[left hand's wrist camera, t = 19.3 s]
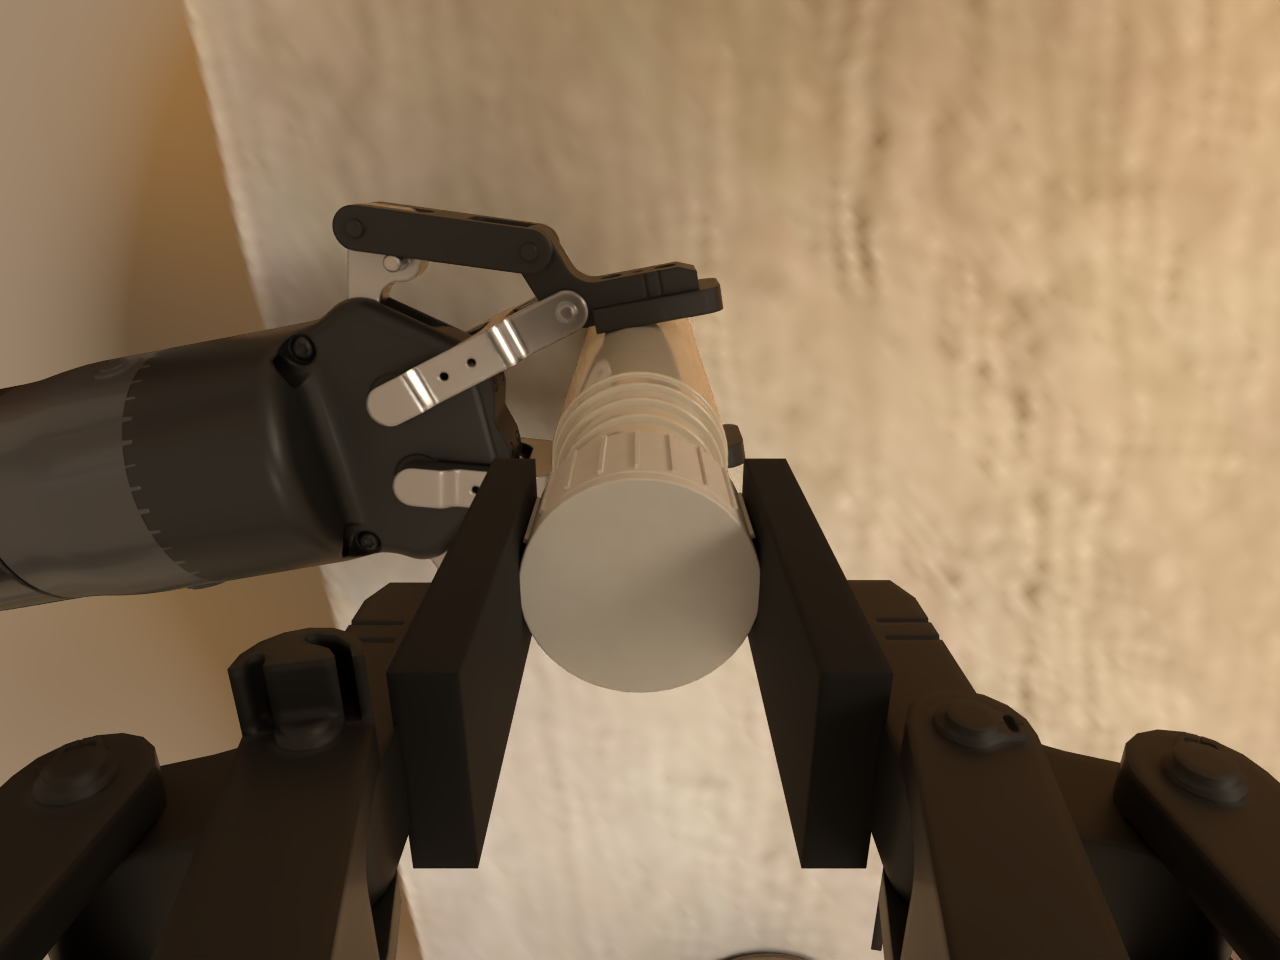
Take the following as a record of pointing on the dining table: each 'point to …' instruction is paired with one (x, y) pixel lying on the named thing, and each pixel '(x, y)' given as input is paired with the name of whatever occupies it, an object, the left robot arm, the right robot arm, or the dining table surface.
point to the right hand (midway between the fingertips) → (728, 371)
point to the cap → (639, 564)
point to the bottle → (640, 391)
